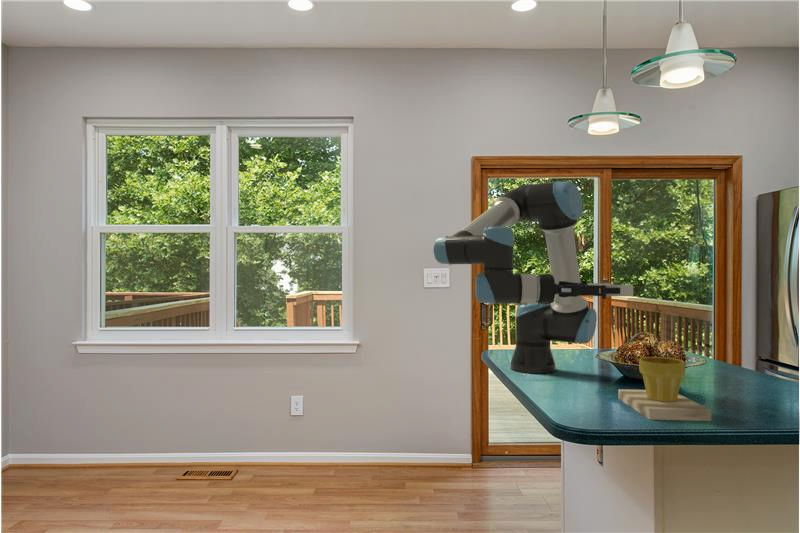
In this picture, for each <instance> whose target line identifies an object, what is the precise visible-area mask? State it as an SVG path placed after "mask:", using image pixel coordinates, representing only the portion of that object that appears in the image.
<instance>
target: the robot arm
mask: <svg viewBox="0 0 800 533" xmlns="http://www.w3.org/2000/svg"><path fill="white" fill-rule="evenodd" d="M582 214H583V198H582V196H581V192H580V189H579V188H578V187H577V185H576V183H573V182H572V181H558V180H557V181H551V182H550V181H549V182H542V183H541V182H540V183H534V184H523V185H520V186H517V187H515V188H513V189H511V190H509V191H507V192H506V193H504V194H502V195H501V196H499V197H497V198H496V199H495V200H494V201H493V202H492V203H491V207H490V208H488V209H487V210H485V211H484V212H483V213H482V214H480V215H479V216H477V217H476V218H475V219H473V220H472V221H471V222H469V223H468V224H466V225H465V226H464V227H462V228H461V229H460V230H459V231H457V232H456V233H454V234H453V235H451V236H448V235H445V236H440V237H438V238H436V240H435V242H434V245H433V249H432V250H433V255H434V258H435V261H437V263H439V264H443V265H449V266H450V265H483V268H482V269H483V271H482V273H477V274H476V275H475V281H474V282H475V283H474V293H475V294H474V295H475V299H476V301H477V302H478V303H483V304H496V305H497V304H503V305H504V304H519V305H518V306H517V307H516V311H515V312H516V313H515V347H514V351H513V354H512V357H511V360H510V369H511V370H512V371H514V372H520V373H528V374H549V373H550V374H551V373H554V372H556V367H557V366H556V361H555V359H554V355H553V352H552V348H551V342H558V343H559V342H560V343H571V344H575V345H577V344H581V345H582V344H586V345H587V344H589V343H590V342H591V340H593V337H594V335H595V331H596V327H597V320H598V318H597V317H598V315H597V311H596V309H595V308H593V307H590V308H589V301H588V300H587V299H586V298H585V297H602V298H601V299H602V300H606V299H607V297H631V298H632V297H634V284H614V283H610V282H609V283H608V282H607V283H605V282H604V283H602V282H593V283H592V282H587V280H582V281H581V278H580V277H581V276H580V270H579V263H578V254H577V247H576V240H575V233H574V228H575V227H576V226H577V225H578V219H580V218H581V217H582ZM521 222H522V223H523V222H538V229H539V230H540V231H542V232H544V235H545V243H546V248H547V249H546V250H547V257H548V262H549V268H550V273H545V274H544V273H540V274H536V273H514V249H515V248H514V247H515V243H514V231H513V229H512V228H511V226H514V225H516V223H517V224H518V223H521ZM583 296H585V297H583Z"/></svg>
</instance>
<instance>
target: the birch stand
mask: <svg viewBox="0 0 800 533" xmlns="http://www.w3.org/2000/svg"><path fill="white" fill-rule="evenodd" d="M617 392H618V393H617V394H618V396H617V398H618V400H620V401H621V402H623V403H624V404H626V406H629V407H630V408H632V409H633V410H635V412H637V413H639V414H640V415H642V416H643V417H645V418H647V419H648V420H650V421H651V420H653V421H655V420H656V421H657V420H658V421H692V422H693V421H695V422H699V421H700V422H701V421H702V422H703V421H705V422H712V409H710V408H708V407H706V406H704V405H702V404H699V402H696V401H694V400H691V399H690V398H688V397H686V396H684V395H682V394H680V393H678V397H677V400H676V401H674V402H661V401H654V400H651V399H649V398H648V397H647V393H646V389H628V388H627V389H618V390H617Z"/></svg>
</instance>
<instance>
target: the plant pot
mask: <svg viewBox="0 0 800 533" xmlns="http://www.w3.org/2000/svg"><path fill="white" fill-rule="evenodd" d="M638 364H639V365H638V370H639V373H640V374H641V375H642V380H643V383H644V389H645V390H646V393H647V397H648V398H649V399H651V400H654V401H661V402H674V401H676V400H677V397H678V394H680V393H679V392H680V388H681V383H682V378H683V377H684V376H685V375H686V362H685V361H684V360H682V359H678V358H673V357H664V356H663V357H662V356H644V357H640V358H639V359H638Z"/></svg>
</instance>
